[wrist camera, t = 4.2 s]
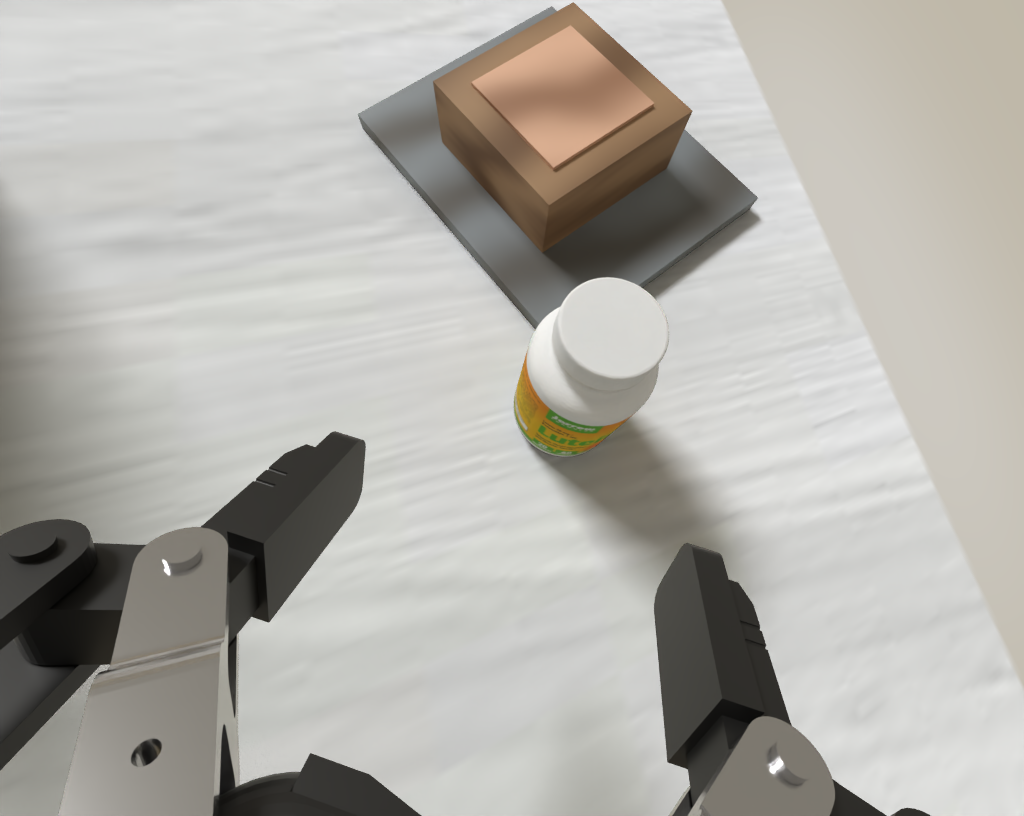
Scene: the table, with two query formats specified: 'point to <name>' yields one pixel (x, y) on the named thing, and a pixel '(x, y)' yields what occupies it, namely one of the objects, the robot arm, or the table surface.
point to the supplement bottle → (590, 366)
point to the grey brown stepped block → (557, 161)
